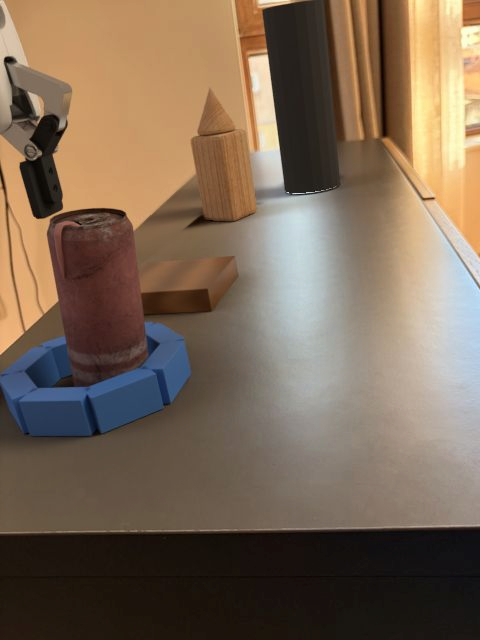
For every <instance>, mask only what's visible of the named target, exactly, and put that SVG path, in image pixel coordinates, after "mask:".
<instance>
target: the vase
mask: <svg viewBox="0 0 480 640" xmlns="http://www.w3.org/2000/svg"><path fill="white" fill-rule="evenodd" d="M325 10H326V9H325V1H324V0H301V1H295V2H289V3H284V4H279V5H273V6H270V7H265V8H263V9H262V10H261V12H262V14H261V15H262V20H263V22H262V23H263V28H264V37H265V44H266V52H267V61H268V69H269V75H270V77H269V78H270V84H271V92H272V99H273V107H274V108H273V109H274V116H275V123H276V131H277V139H278V147H279V148H278V149H279V154H280V162H281V163H280V164H281V171H282V179H283V185H284V192H285V191H286V192H289V193H306V192H315V191H321V190H326V189H329V188H333V187H335V186H338V185H339V184H340V185H341V176H340V165H339V154H338V142H337V130H336V119H335V111H334V98H333V88H332V87H333V86H332V77H331V66H330V65H331V64H330V55H329V42H328V32H327V31H328V30H327V21H326V11H325ZM340 185H339V186H340ZM339 186H338V187H339ZM286 192H285V193H286Z"/></svg>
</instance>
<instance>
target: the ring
mask: <svg viewBox="0 0 480 640" xmlns="http://www.w3.org/2000/svg"><path fill="white" fill-rule="evenodd" d="M144 323H145V331H146V340H147V348H148V356H149V358H148V359H147V360H146V361H145V363H144V364H143V365H142V366H141V367H140V368H137V369H135V370H132V371H129V372H127V373H124V374H121V375H119V376H116V377H113V378H110V379H108V380H105V381H102V382H100V383H97V384H94V385H92V386H89V387H74V386H69V387H67V386H66V387H65V386H63V387H54V386H55V385H56V384H57V383H58V382H59V381H61V380H62V379H64V378H67V377H69V376H72V372H71V366H70V361H69V355H68V350H67V344H66V339H65V335H62V336H60V337H57V338H53V339H50V340H48V341H44V342H41V343H40V346H33V347H32V348H31V349H29V350H28V351H27V352H26V353H24V354H23V355H21V357H19V358H18V359H17V360H16V361H14V362H12V363H11V364H10V365H9V366H8V367H6V368H5V369H4V370H2V372H1V373H0V388H1V391H2V393H3V397H4V399H5V401H6V405H7V407H8V411H9V412H10V413H11V415H12V417H13V419H14V420H15V422H16V423H17V425H18V426H19V429H20V431H21V432H22V433H23V435H25V434H28V433H29V434H28V435H29V436H30V437H91V436H92V435H93V434H94V433H95V432H96V431H98V432H99V433H100V434H105V433H107V432H110V431H113V430H115V429H117V428H121V427H122V426H124V425H127V424H129V423H132V422H135V421H138V420H140V419H141V418H144V417H147V416H149V415H152V414H154V413H156V412H158V411H161V410H164V409H165V406H164V405H170V404H172V403H173V401H174V400H175V399H176V397H177V395H179V392H180V391H181V389H182V388H183V387H184V385H185V383H186V382H187V380H189V378H190V376H191V375H192V370H191V366H190V365H191V364H190V361H189V360H190V359H189V356H188V351H187V346H186V340H185V337H184V336H183V335H180V334H179V333H177V332H176V331H174V330H173V329H171V328H169V327H168V326H166V325H164V324H162V323H161V322H157V323H154V321H144Z"/></svg>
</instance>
